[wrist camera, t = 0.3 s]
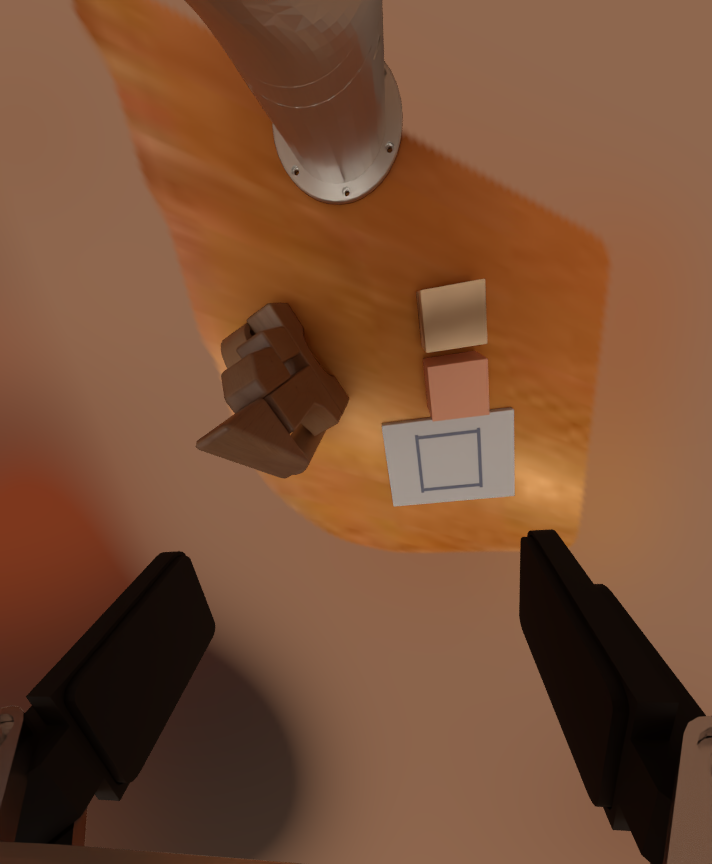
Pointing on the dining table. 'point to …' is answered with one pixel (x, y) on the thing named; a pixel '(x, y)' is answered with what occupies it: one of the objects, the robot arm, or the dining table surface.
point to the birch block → (452, 316)
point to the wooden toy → (273, 396)
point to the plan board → (451, 458)
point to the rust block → (457, 385)
